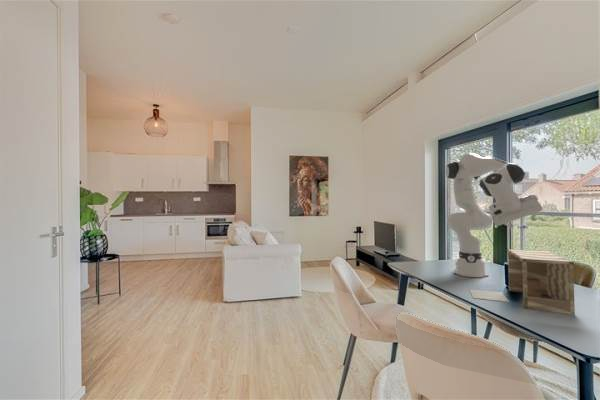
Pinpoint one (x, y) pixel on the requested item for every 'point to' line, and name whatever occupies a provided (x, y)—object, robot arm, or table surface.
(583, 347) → the table surface
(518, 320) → the table surface
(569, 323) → the table surface
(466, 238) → the robot arm
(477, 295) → the mat
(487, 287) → the table surface
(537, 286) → the block
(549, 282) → the cubby
